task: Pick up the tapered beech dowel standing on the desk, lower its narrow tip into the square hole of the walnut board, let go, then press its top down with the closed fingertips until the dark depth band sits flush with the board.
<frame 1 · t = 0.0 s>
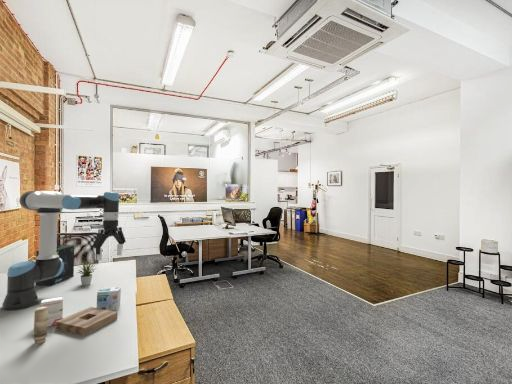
hand: (109, 257, 150), 28 cm above the table, fingers open, 13 cm apart
ink box: (51, 324, 130), on the table
peg: (40, 341, 114), on the table
board: (87, 323, 131), on the table
house plant: (88, 284, 189), on the table
headset box: (55, 281, 195), on the table
light bulb box: (108, 309, 148), on the table
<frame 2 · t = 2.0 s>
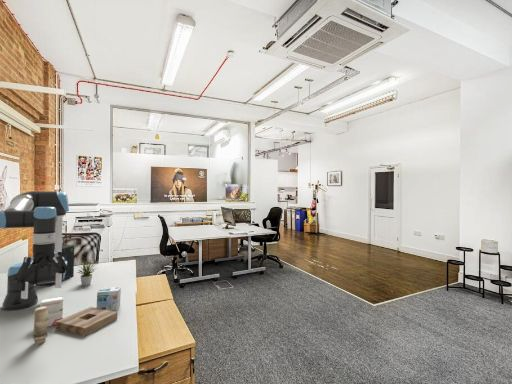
hand: (42, 292, 114), 21 cm above the table, fingers open, 13 cm apart
nothing on the table moved.
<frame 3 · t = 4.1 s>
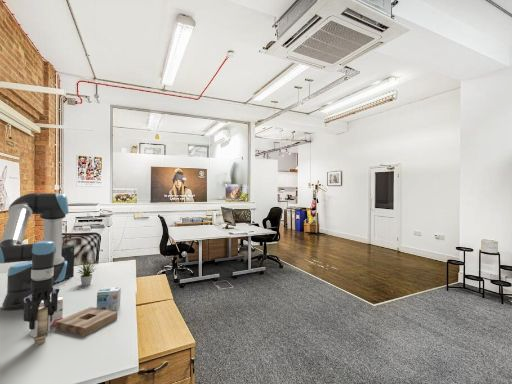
hand: (40, 333, 114), 4 cm above the table, fingers closed on peg, 4 cm apart
peg: (40, 341, 114), on the table, touching gripper
everything else where it was.
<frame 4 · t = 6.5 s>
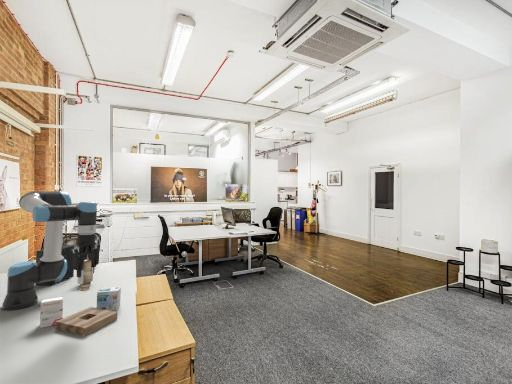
hand: (85, 282, 130), 21 cm above the table, fingers closed on peg, 4 cm apart
peg: (85, 289, 130), point 17 cm above the table, touching gripper
everything else where it was.
when the fingers open (5 cm above the table, at t = 8.8 s): peg drops 1 cm, resting in board.
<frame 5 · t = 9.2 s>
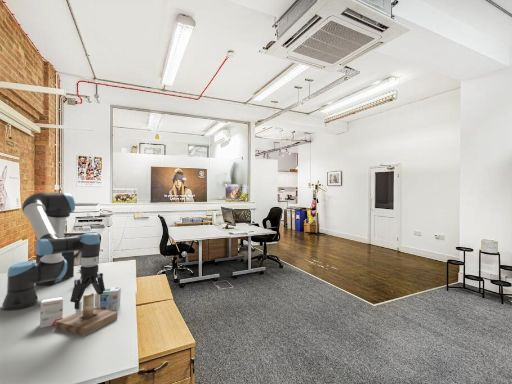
hand: (88, 311, 131), 6 cm above the table, fingers open, 9 cm apart
peg: (87, 323, 131), resting in board
everything else where it was.
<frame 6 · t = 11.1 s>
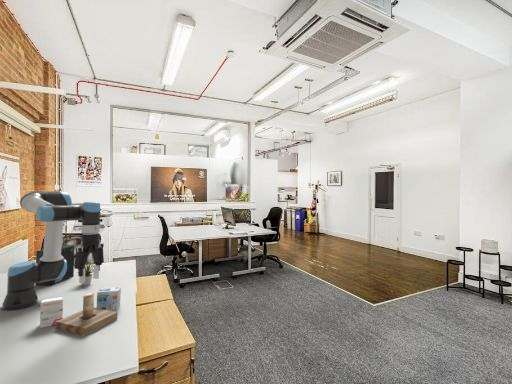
hand: (89, 280, 131), 21 cm above the table, fingers open, 7 cm apart
nothing on the table moved.
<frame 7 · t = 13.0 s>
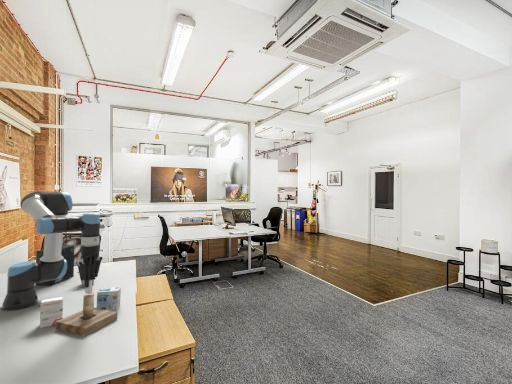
hand: (88, 293, 131), 15 cm above the table, fingers closed
nothing on the table moved.
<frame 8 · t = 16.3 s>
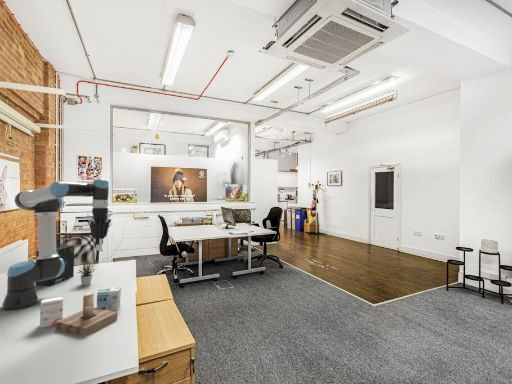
hand: (98, 250, 148), 32 cm above the table, fingers closed
nothing on the table moved.
at the end: peg 0.0 cm off-centre on the board, point 0.0 cm above the board's base; peg tilted 1°; the gripper is holding nothing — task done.
